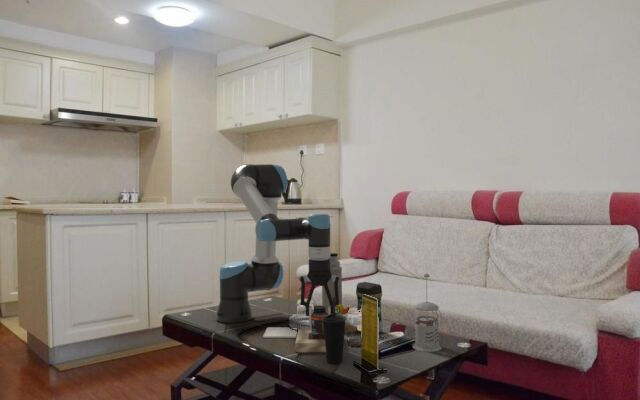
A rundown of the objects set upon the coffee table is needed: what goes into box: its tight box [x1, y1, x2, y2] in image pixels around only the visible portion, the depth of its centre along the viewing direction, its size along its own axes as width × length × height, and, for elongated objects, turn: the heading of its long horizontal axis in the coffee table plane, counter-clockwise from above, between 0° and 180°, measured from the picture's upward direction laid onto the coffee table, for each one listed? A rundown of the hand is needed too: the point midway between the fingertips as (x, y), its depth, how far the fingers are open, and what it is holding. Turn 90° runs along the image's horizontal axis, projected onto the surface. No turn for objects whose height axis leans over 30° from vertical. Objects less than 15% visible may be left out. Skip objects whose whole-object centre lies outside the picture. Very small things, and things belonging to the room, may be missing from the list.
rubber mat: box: [262, 326, 298, 339], centre depth 190 cm, size 12×12×1 cm
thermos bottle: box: [321, 252, 343, 313], centre depth 205 cm, size 8×8×28 cm
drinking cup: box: [322, 298, 347, 365], centre depth 159 cm, size 8×8×20 cm
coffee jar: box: [355, 281, 383, 334], centre depth 191 cm, size 10×8×19 cm
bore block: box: [294, 329, 345, 353], centre depth 176 cm, size 16×16×3 cm
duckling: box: [335, 303, 350, 316], centre depth 196 cm, size 11×5×10 cm, turn 73°
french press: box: [411, 273, 443, 353], centre depth 173 cm, size 10×12×25 cm
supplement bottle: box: [311, 305, 328, 340], centre depth 176 cm, size 6×6×11 cm
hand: (320, 325), depth 176 cm, fingers closed on supplement bottle, 6 cm apart
